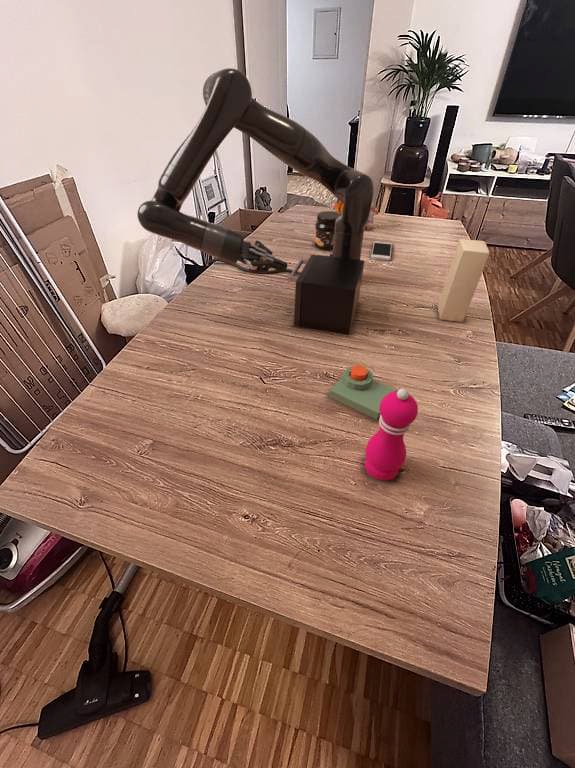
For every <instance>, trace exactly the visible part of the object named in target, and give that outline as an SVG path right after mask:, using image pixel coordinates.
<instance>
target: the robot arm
mask: <svg viewBox="0 0 575 768" xmlns="http://www.w3.org/2000/svg"><path fill="white" fill-rule="evenodd" d="M202 99H203V102H204V105H205V108H204V110H203V113H202V114H201V116H200V118H199V120H198V121H197V123H196V125H194V127H193V128H192V130H191V132H190V133H189V134H188V135H187V137H186V138H185V139H184V140H183V142H182V143H181V144H180V145H179V147H178V148H177V149H176V151H175V152H174V153H173V154H172V156H171V158H170V160H169V161H168V162H167V164H166V166H165V168H164V170H163V172H162V173H161V175H160V176H159V179H158V181H157V182H158V183H157V189H156V191H155V193H154V194H153V196H152V198H151V200H147V201H144V202H142V203H141V204H140V205H139V207H138V209H137V220H138V223H139V224H140V226H141V227H142V228H143V229H144V230H145V231H147V232H148V233H151V234H154V235H156V236H160V237H164V238H167V239H169V240H173V241H177V242H179V243H181V244H183V245H185V246H187V247H190V248H192V249H194V250H197V251H200V252H203V253H204V254H206V255H208V256H211V257H214V258H213V259H210V260H208V261H207V263H206V264H207V265H211V264H212V263H214V262H219V263H224V264H228V265H231V266H234V267H236V268H238V269H239V270H241V271H244V272H247V273H252V274H262V275H263V274H264V275H265V274H274V273H281V272H282V273H286V272H288V273H290V274H291V273H292V271H293V270H294V269H290V268H288V262H287V261H284V260H281V259H279V258H276V257H275V255H274V254H273V251H271V249H269V248H268V247H267V246H266V245H264V243H262V242H261V241H260V240H257V239H256V240H255V242H254V243H252V242H250V241H245V235H244V234H243V233H240V232H237V231H235V230H232V229H230V228H227V227H225V226H222V225H219V224H217V223H212V222H209V221H206V220H204V219H201V218H198V217H197V216H196V217H195V216H193V215H189V214H186V213H183V212H181V208H182V206H183V204H184V202H185V201H186V199H187V198H188V196H189V195H190V193H191V192H192V190H193V188H194V187H195V185H196V184H197V182H198V180H199V178H200V177H201V175H202V173H203V172H204V170H205V168H206V167H207V165H208V164H209V162H210V160H211V158H212V157H213V155H214V154H215V153H216V151H217V150H218V148H219V147H220V145H221V144H222V143H223V141H224V140H225V139H226V138H227V136H228V135H229V134H230V132H231V131H232V130H233V129H235V130H237V131H239V132H241V133H243V134H245V135H246V136H248V137H250V138H251V139H252V140H254V141H255V142H256V143H257V144H259V145H260V146H261V147H262V148H264V149H265V150H266V151H268V152H269V153H270V154H271V155H273V156H274V157H275V158H277V159H278V160H279V161H281V162H282V163H283V164H285V165H286V166H288V167H289V168H291V169H293V170H294V171H296V172H297V173H299V174H301V175H303V176H305V177H307V178H309V179H312V180H314V181H316V182H318V183H319V184H321V185H322V186H323V187H324V188H326V189H327V190H328V191H329V192H330V193H331V194H332V195H333V196H335V198H337V199H339V200H340V201H341V202H343V203H344V208H343V214H342V216H340V217H338V218H337V219H336V222H335V232H334V243H333V250H331V251H330V252H329V256H331V257H339V258H347V259H355V260H361V257H362V251H363V250H362V249H363V243H364V236H365V230H366V229H365V226H366V225H367V224H366V223H367V221H368V219H369V215H370V210H372V209H371V205H372V203H373V199H374V191H375V185H374V181H373V179H372V177H371V176H370V175H368V174H366V173H365V172H363V171H360V170H358V169H355V168H353V167H350V166H349V165H347V164H345V163H343V162H342V161H340V160H339V159H336V157H334V156H333V155H332V154H331V153H330V152H329V151H328V149H327V148H326V147H325V146H324V144H323V143H322V142H321V141H320V139H318V137H316V136H315V135H314V134H313V133H312V132H311V131H309V130H308V129H307V128H305V127H304V126H303V125H301V124H300V123H298V122H297V121H295V120H293V119H291V118H289V117H287V116H285V115H283V114H281V113H278V112H276V111H274V110H271V109H270V108H268V107H266V106H264V105H263V104H261V103H260V102H259V101H257V100H256V99H255V98H254V97H253V91H252V87H251V83H250V82H249V79H248V77H247V76H246V75H245V74H244V73H243V72H242V71H240V70H239V69H236V68H229V67H228V68H227V67H226V68H223V69H220V70H217V71H216V72H213V73H211V74H210V75H209V76H208V77H207V78H206V80H205V81H204V83H203V87H202ZM237 262H239V263H242V264H243V265H247V267H249V268H246V267H243V266H241V265H239V264H238V263H237ZM301 272H302V271H301ZM301 272H300V271H298V272H297V273H296V275H298V276H299V275H300V273H301Z"/></svg>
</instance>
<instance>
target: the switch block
mask: <svg viewBox="0 0 575 768" xmlns="http://www.w3.org/2000/svg"><path fill="white" fill-rule="evenodd" d="M353 366H354V365H352V366H349V367H347V368H346V369H345V370H344V371H343V376H342V377H340V379H339V380H338V381H337V382H336V383H335V384H334V385H333V386H332V387H331V388H330V389H329V395H328V396H329V397H328V398H330V399H332V400H334V401H336V402H339V403H340V404H342V405H345V406H347V407H349V408H351V409H353V410H355V411H357V412H359V413H361V414H364V415H365V416H368V417H369V418H371V419H374V420H376V421H377V420H379V419H380V415H381V414H380V410H379V407H380V403H381V401H382V399H383V398H384V396H385V395H387V394H388V393H390V392H394V391H397V389H395V388H393V387H391V386H388V385H386V384H384V383H381V382H379V381H376V380H375V379H374V375H373V372H372V371H371V370H370V369H369V368H367V367H365V368H366V369H367V376H366V379H365V380H363V381H356V380H353V379H352V378H351V376H350V374H351V369H352V367H353Z"/></svg>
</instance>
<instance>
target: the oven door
mask: <svg viewBox="0 0 575 768" xmlns="http://www.w3.org/2000/svg"><path fill="white" fill-rule="evenodd" d="M317 255H318V254H311V255H310V256H309V258H304V257H300V258H299V260H298V262H297V263H296V265H295V266H294V268H293V269H292V270H293V271H292V273H291V272H290V275H289V276H288V277H287V282H288V283H295V290H294V291H295V292H294V314H293V318H294V319H293V326H294V327H298V328H299V327H300V319H301V292H302V281H303V279H304V277H305V276H306V274H307V272H308V270H309V268H310V267H311V265H312V263H313V261H314V259H315V257H316V256H317ZM302 265H304V267H303V268H302V270H301V273H300V275H298V276H296V275H297V274H296V273H297V272H299V270H300V268H301V267H302Z"/></svg>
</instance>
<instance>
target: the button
mask: <svg viewBox="0 0 575 768" xmlns="http://www.w3.org/2000/svg"><path fill="white" fill-rule="evenodd" d="M352 366H353V367H352ZM352 366H351V367H352V369H351V374H350V376H351V378H352V379H353V380H356V381H363V380H365V379H366V376H367V369H368V368H367V367H365V366H363V365H358V364H357V365H352ZM366 368H367V369H366Z"/></svg>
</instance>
